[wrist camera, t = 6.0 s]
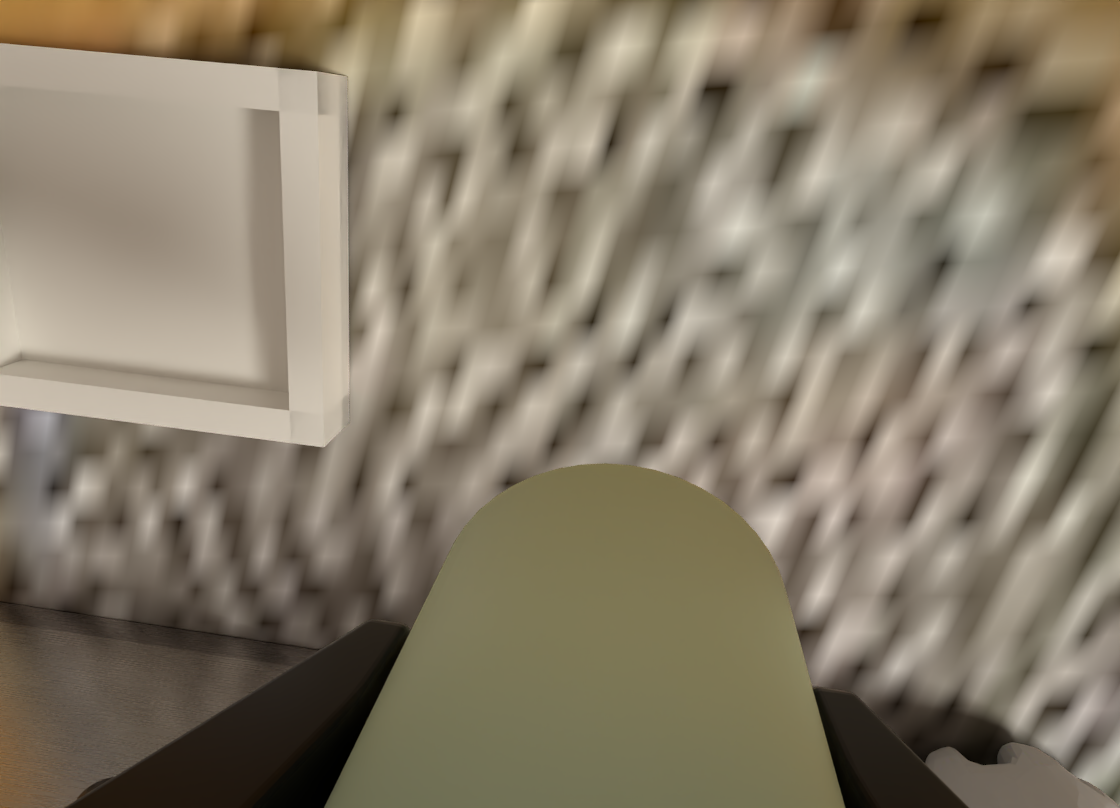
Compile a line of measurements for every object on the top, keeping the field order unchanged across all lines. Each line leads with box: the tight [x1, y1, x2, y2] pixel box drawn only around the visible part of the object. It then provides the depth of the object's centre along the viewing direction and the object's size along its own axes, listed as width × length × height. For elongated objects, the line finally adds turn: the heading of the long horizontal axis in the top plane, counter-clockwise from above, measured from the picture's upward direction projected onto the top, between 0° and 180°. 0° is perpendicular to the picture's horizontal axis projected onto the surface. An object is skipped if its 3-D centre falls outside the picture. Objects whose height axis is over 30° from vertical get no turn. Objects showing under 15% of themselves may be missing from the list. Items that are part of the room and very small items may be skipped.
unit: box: [0, 602, 319, 808], centre depth 19 cm, size 10×6×8 cm, turn 85°
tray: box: [0, 43, 350, 447], centre depth 18 cm, size 9×8×2 cm
